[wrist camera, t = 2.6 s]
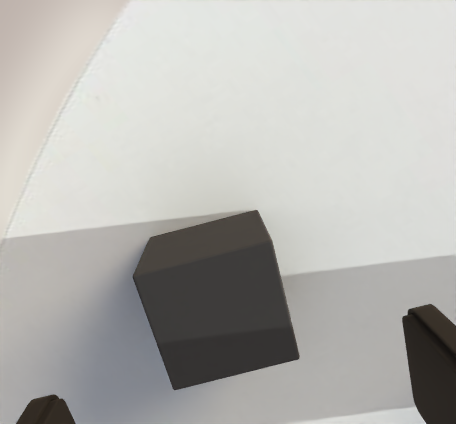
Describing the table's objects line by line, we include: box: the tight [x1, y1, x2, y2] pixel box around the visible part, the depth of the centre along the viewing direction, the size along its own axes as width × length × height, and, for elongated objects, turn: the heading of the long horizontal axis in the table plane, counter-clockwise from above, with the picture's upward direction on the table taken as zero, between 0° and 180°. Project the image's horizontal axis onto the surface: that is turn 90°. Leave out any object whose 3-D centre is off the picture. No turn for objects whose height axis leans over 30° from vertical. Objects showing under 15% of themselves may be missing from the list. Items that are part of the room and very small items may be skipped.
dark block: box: [133, 210, 300, 390], centre depth 15 cm, size 5×5×4 cm
